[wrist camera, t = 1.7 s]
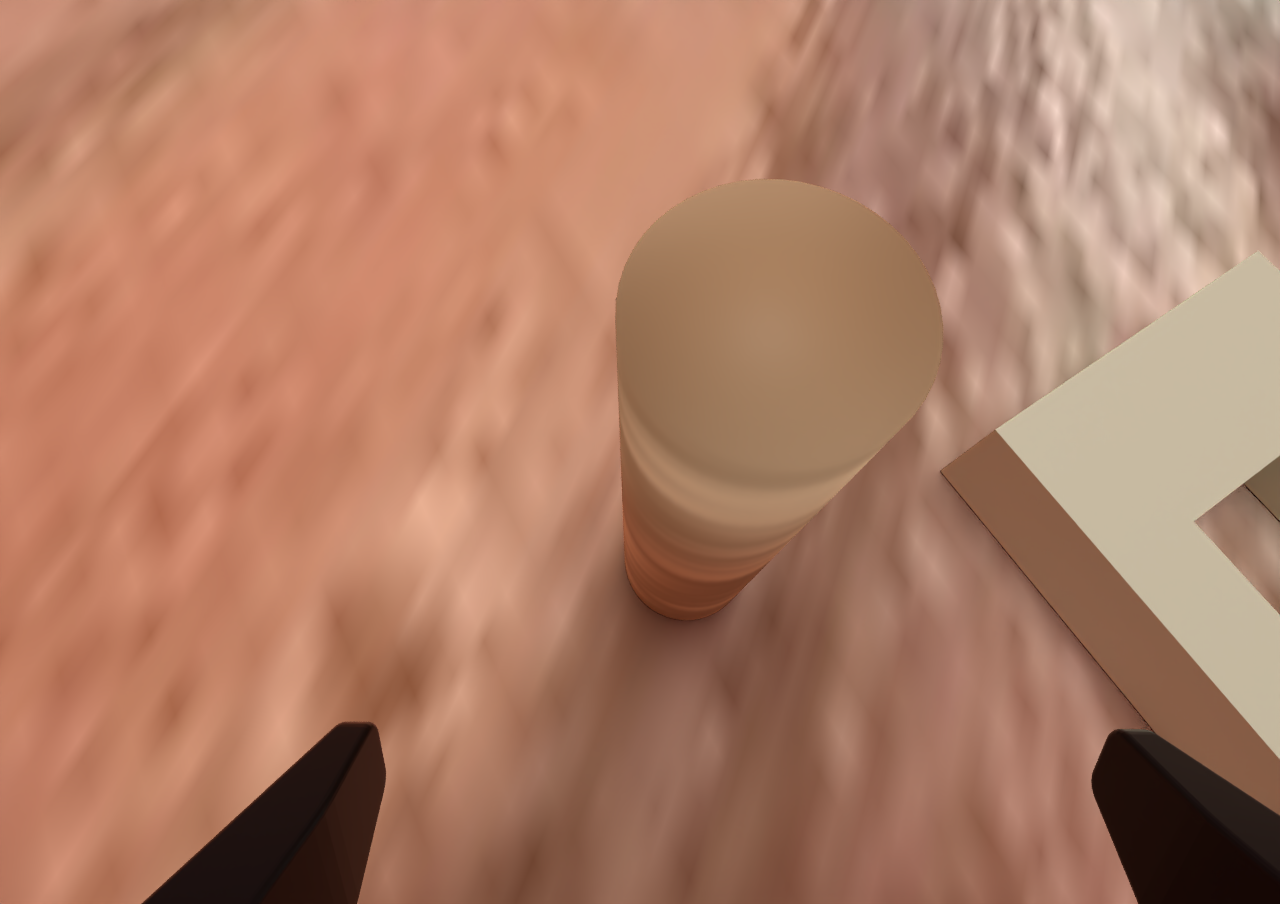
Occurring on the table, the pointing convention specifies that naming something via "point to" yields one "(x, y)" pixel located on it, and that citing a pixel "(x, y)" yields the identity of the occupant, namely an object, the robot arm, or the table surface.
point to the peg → (758, 377)
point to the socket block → (1158, 518)
